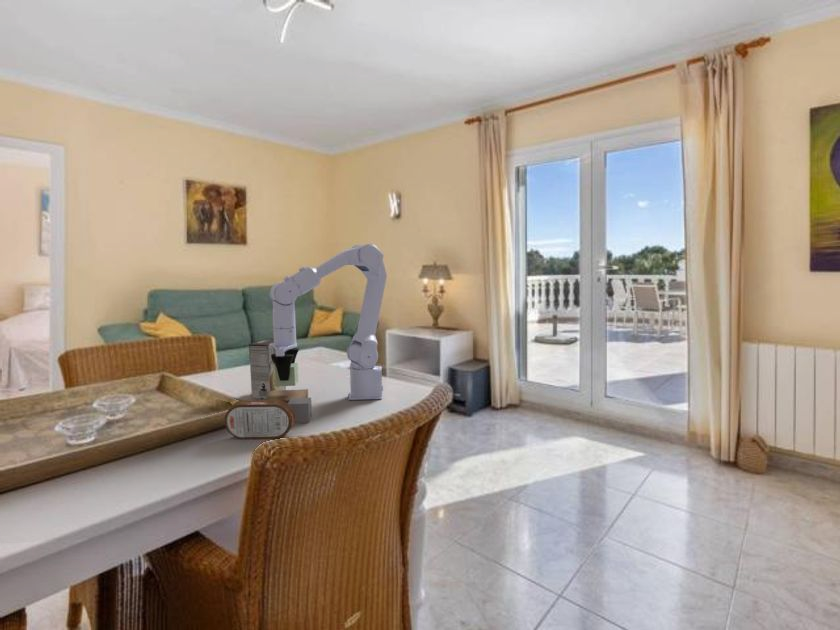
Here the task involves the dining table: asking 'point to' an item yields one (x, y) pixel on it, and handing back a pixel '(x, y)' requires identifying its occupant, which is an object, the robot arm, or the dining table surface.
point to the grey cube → (301, 409)
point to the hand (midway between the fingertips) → (286, 377)
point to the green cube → (292, 377)
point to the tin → (259, 419)
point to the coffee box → (262, 369)
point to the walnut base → (287, 395)
